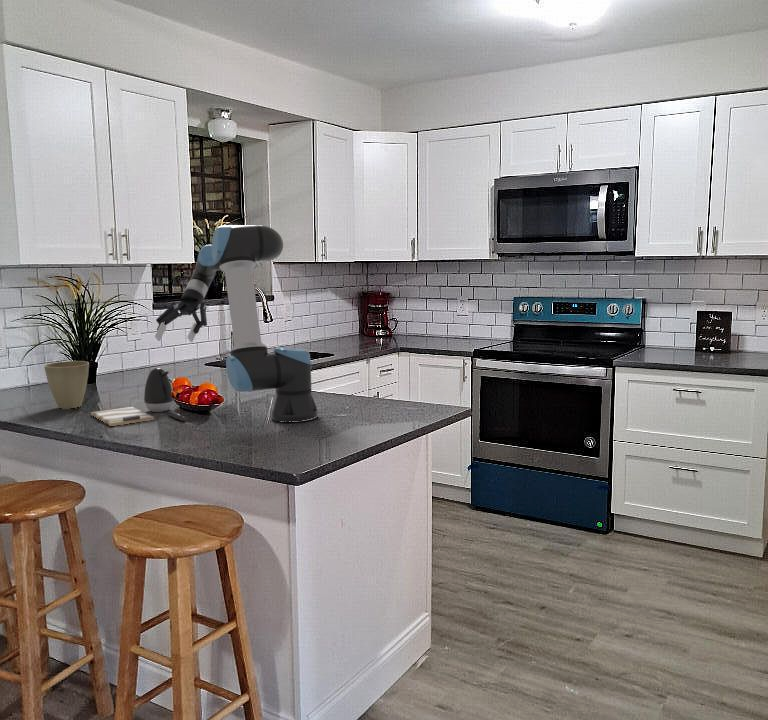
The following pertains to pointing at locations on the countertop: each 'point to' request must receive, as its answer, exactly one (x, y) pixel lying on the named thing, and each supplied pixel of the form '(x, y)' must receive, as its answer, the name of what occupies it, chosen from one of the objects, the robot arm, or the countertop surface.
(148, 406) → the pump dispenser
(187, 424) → the countertop surface
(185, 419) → the black marker
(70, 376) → the plant pot
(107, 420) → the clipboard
